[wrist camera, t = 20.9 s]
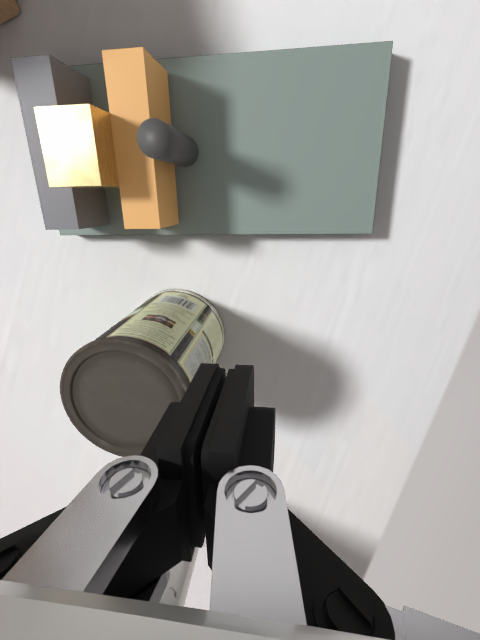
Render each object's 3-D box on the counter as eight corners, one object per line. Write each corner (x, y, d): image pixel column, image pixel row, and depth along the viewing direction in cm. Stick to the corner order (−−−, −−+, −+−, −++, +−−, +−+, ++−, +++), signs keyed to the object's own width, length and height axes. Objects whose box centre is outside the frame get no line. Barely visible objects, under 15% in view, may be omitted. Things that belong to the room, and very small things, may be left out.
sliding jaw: (204, 223, 32) (178, 231, 24) (148, 224, 32) (108, 232, 25) (195, 69, 28) (162, 25, 20) (132, 74, 28) (78, 32, 21)
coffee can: (151, 378, 41) (86, 464, 28) (125, 296, 38) (38, 350, 25) (234, 368, 39) (206, 455, 26) (214, 281, 36) (170, 330, 23)
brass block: (145, 187, 32) (101, 185, 24) (105, 188, 32) (49, 186, 25) (139, 126, 30) (89, 103, 22) (96, 128, 30) (34, 107, 23)
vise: (367, 231, 32) (388, 240, 25) (72, 233, 36) (21, 241, 29) (386, 51, 27) (417, 3, 21) (43, 76, 31) (-25, 43, 25)
